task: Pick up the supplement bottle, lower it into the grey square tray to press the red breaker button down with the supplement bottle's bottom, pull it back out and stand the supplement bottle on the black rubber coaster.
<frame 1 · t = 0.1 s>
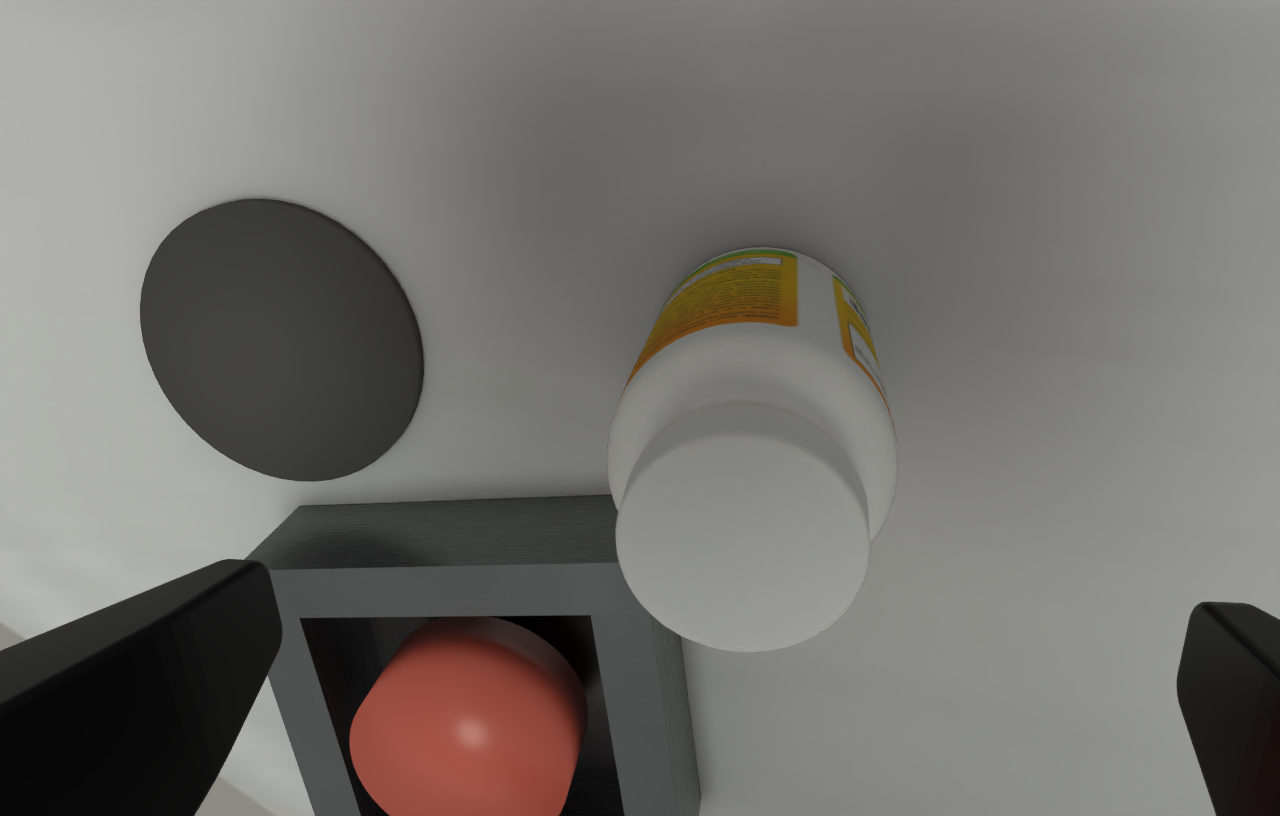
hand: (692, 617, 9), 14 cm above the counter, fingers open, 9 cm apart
coaster: (284, 345, 25), on the counter
grey square tray: (507, 657, 28), on the counter
button: (472, 732, 25), point 3 cm above the counter, slide at 0.0 cm
supplement bottle: (761, 345, 23), on the counter
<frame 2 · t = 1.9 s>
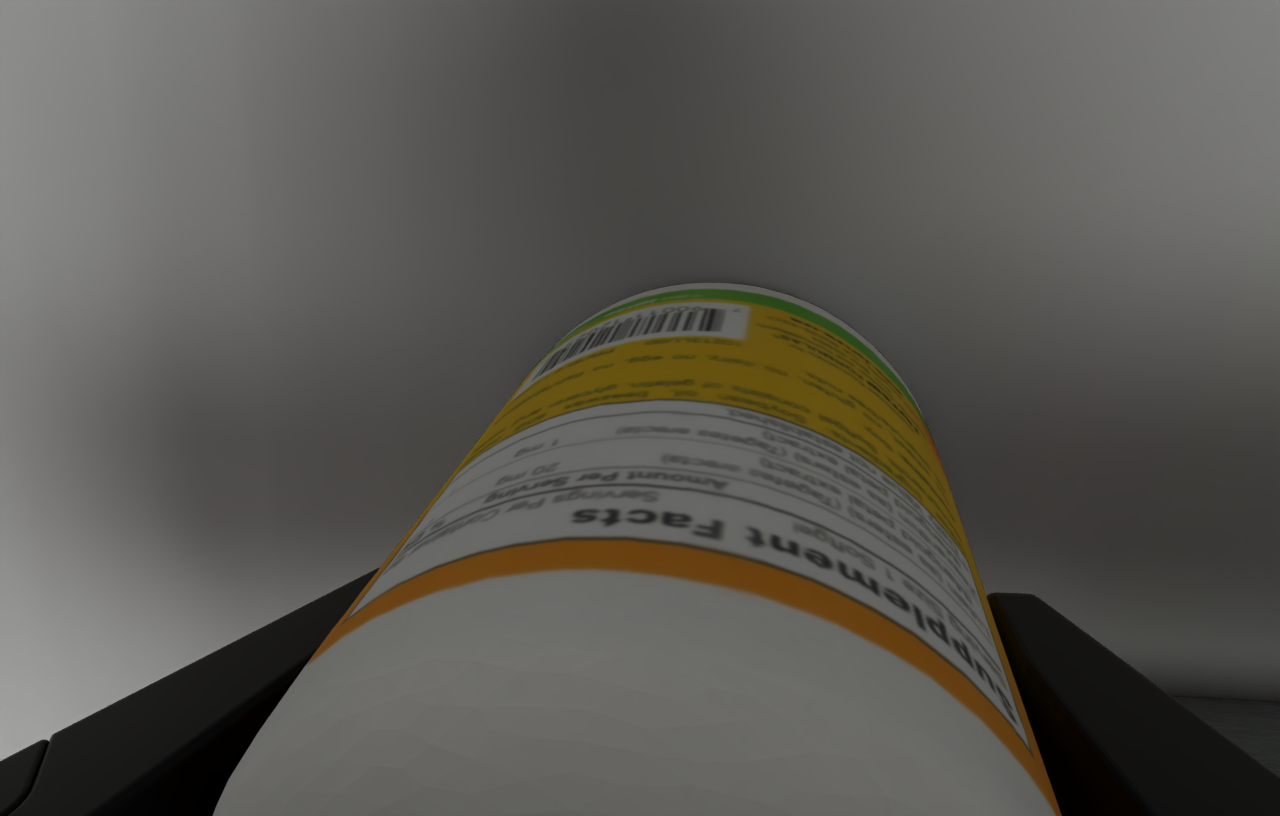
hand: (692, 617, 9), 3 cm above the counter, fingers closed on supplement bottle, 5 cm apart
supplement bottle: (717, 470, 12), on the counter, touching gripper
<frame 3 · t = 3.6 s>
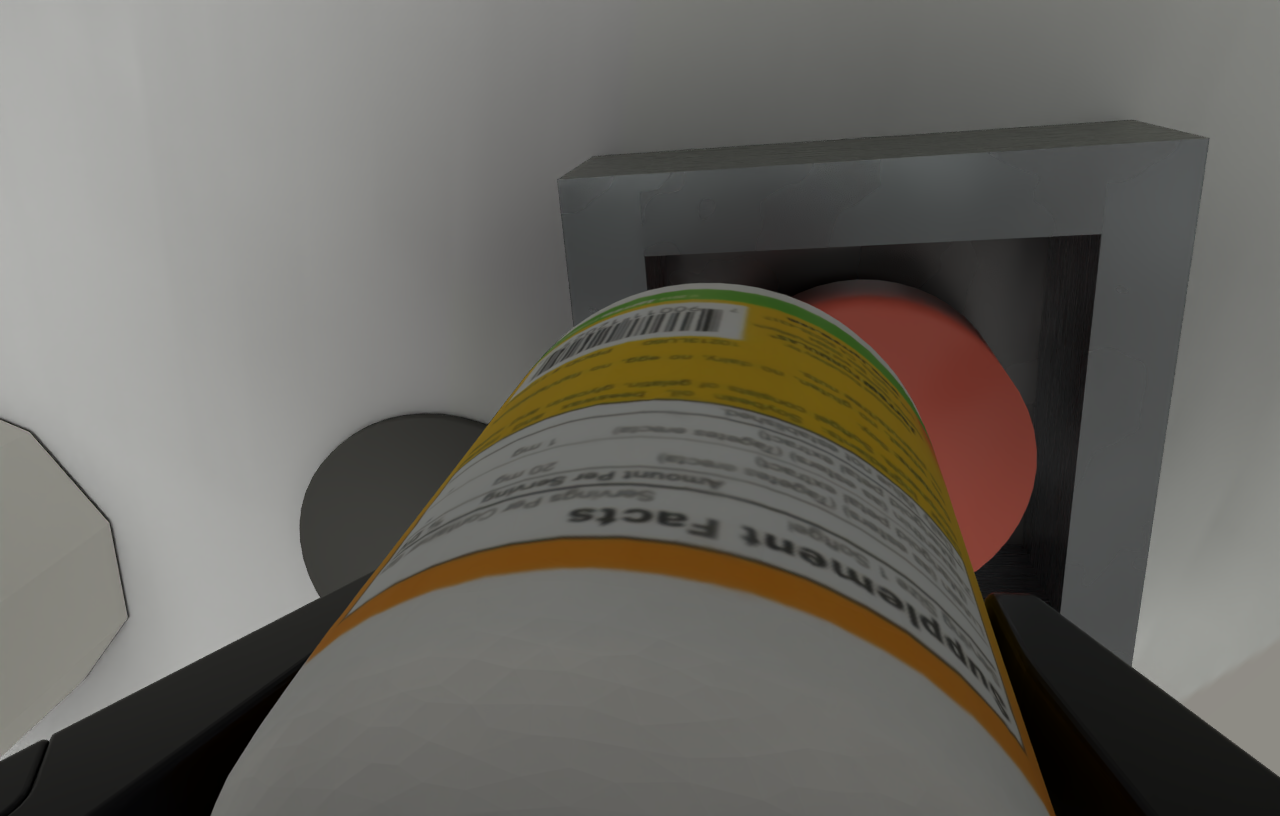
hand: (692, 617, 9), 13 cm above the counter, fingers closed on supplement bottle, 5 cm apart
coaster: (448, 551, 24), on the counter
grey square tray: (849, 384, 21), on the counter
button: (860, 442, 18), point 3 cm above the counter, slide at 0.0 cm
supplement bottle: (715, 470, 12), point 9 cm above the counter, touching gripper
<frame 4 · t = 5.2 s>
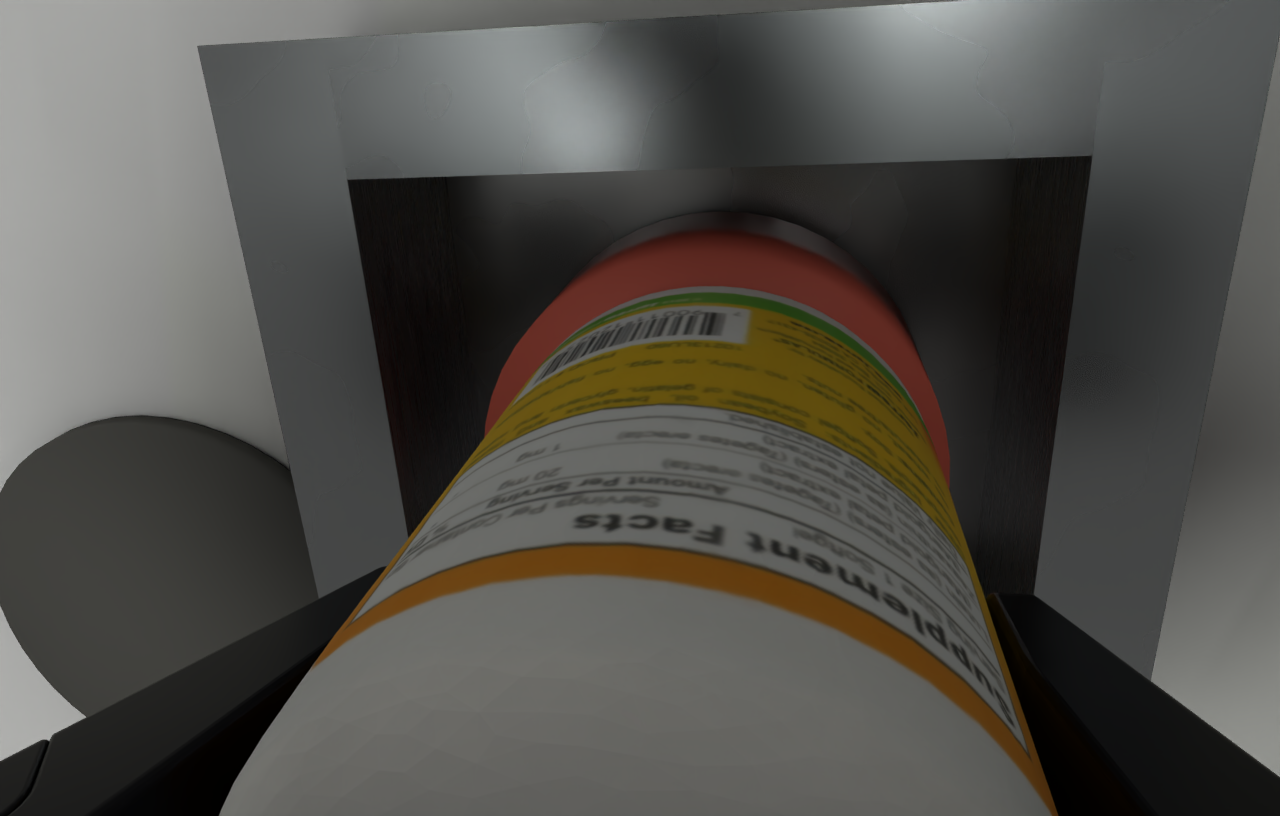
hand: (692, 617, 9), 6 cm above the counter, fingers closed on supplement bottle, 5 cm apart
coaster: (193, 602, 18), on the counter
grey square tray: (723, 394, 14), on the counter
button: (715, 440, 13), point 2 cm above the counter, slide at 1.5 cm, touching supplement bottle
supplement bottle: (718, 472, 12), point 3 cm above the counter, touching button, gripper
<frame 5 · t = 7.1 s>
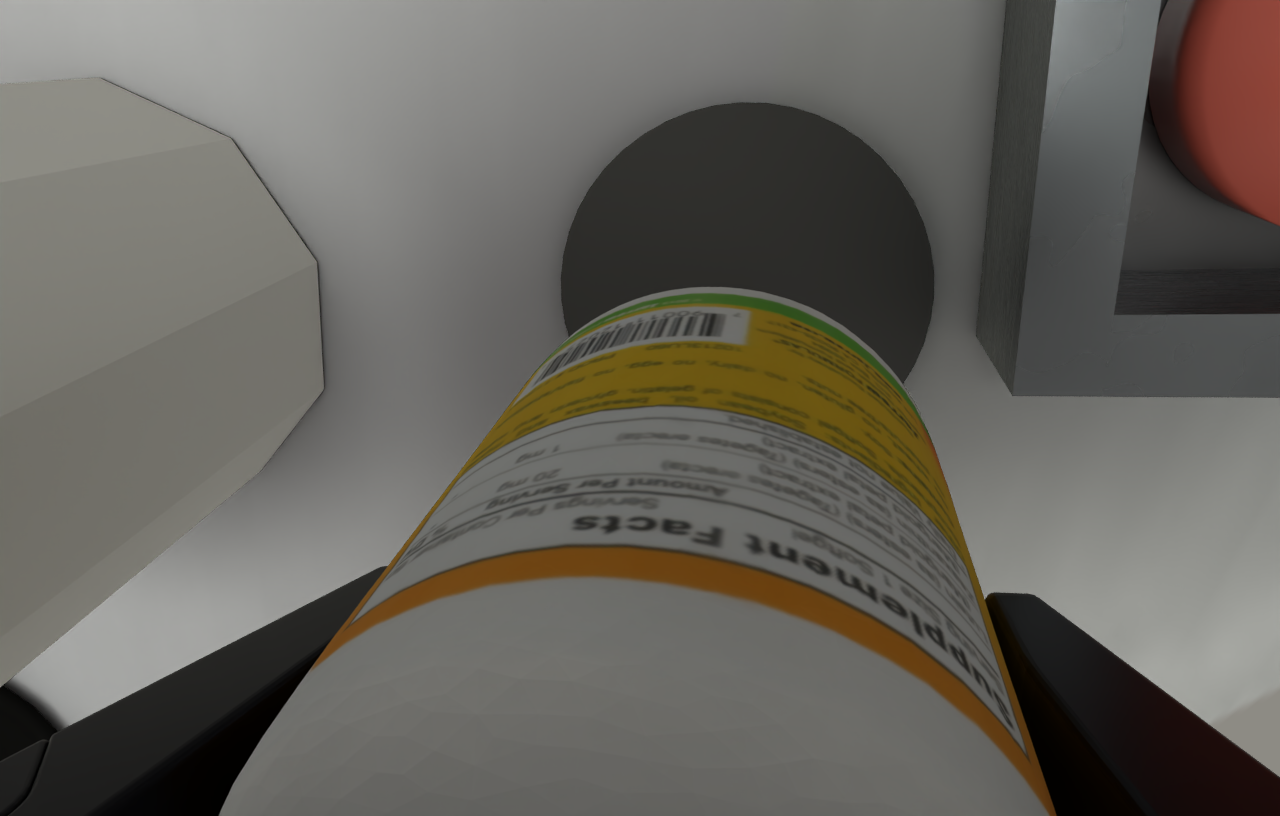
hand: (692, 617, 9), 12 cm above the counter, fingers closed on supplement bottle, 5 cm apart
coaster: (742, 293, 20), on the counter
toilet paper: (138, 297, 23), on the counter
supplement bottle: (718, 473, 12), point 9 cm above the counter, touching gripper
when the fingers open (4 cm above the counter, at t = 8.8 s): supplement bottle stays where it is, resting on coaster.
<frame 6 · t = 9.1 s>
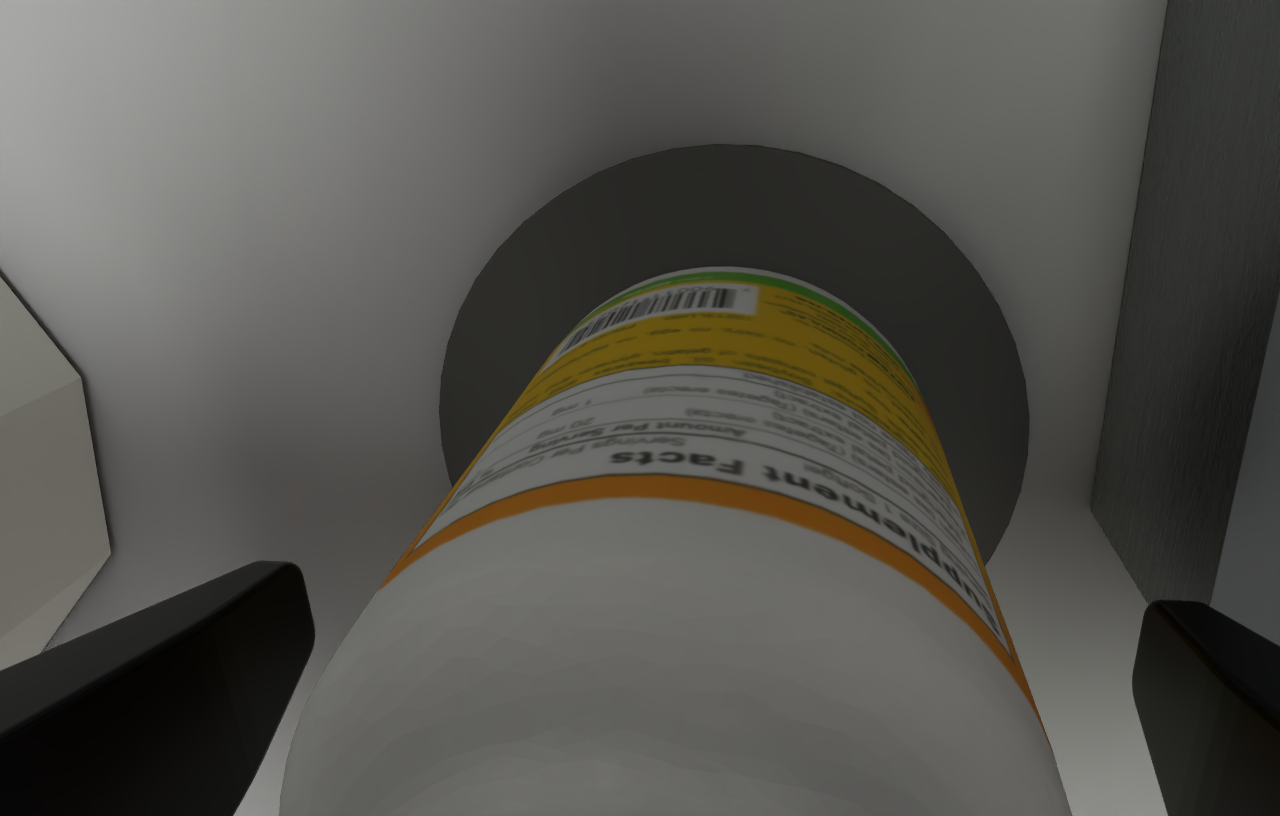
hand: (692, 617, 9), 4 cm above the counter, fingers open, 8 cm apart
coaster: (721, 437, 13), on the counter
supplement bottle: (726, 444, 13), resting on coaster
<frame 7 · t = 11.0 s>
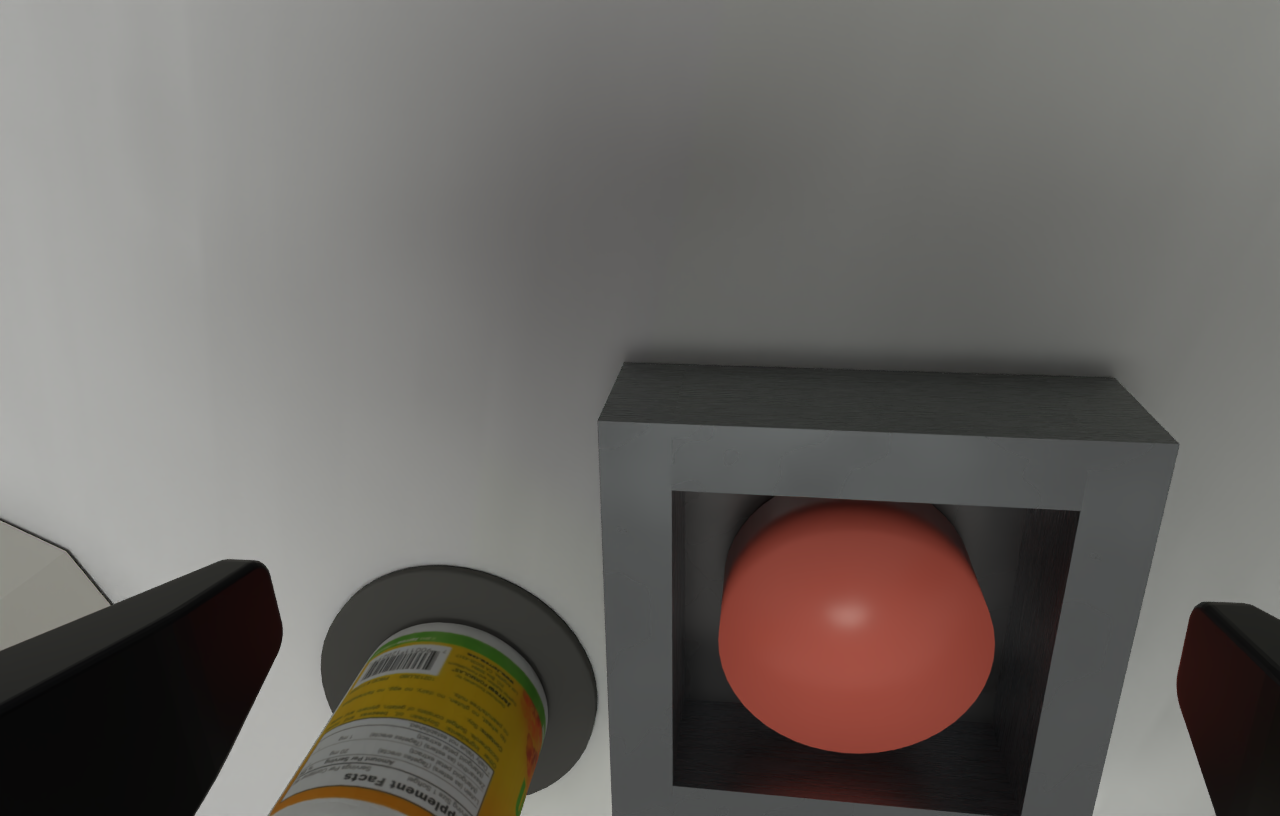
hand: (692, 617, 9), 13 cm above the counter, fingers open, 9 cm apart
coaster: (460, 685, 26), on the counter
grey square tray: (843, 574, 23), on the counter
button: (849, 615, 21), point 2 cm above the counter, slide at 1.5 cm
supplement bottle: (461, 690, 26), resting on coaster
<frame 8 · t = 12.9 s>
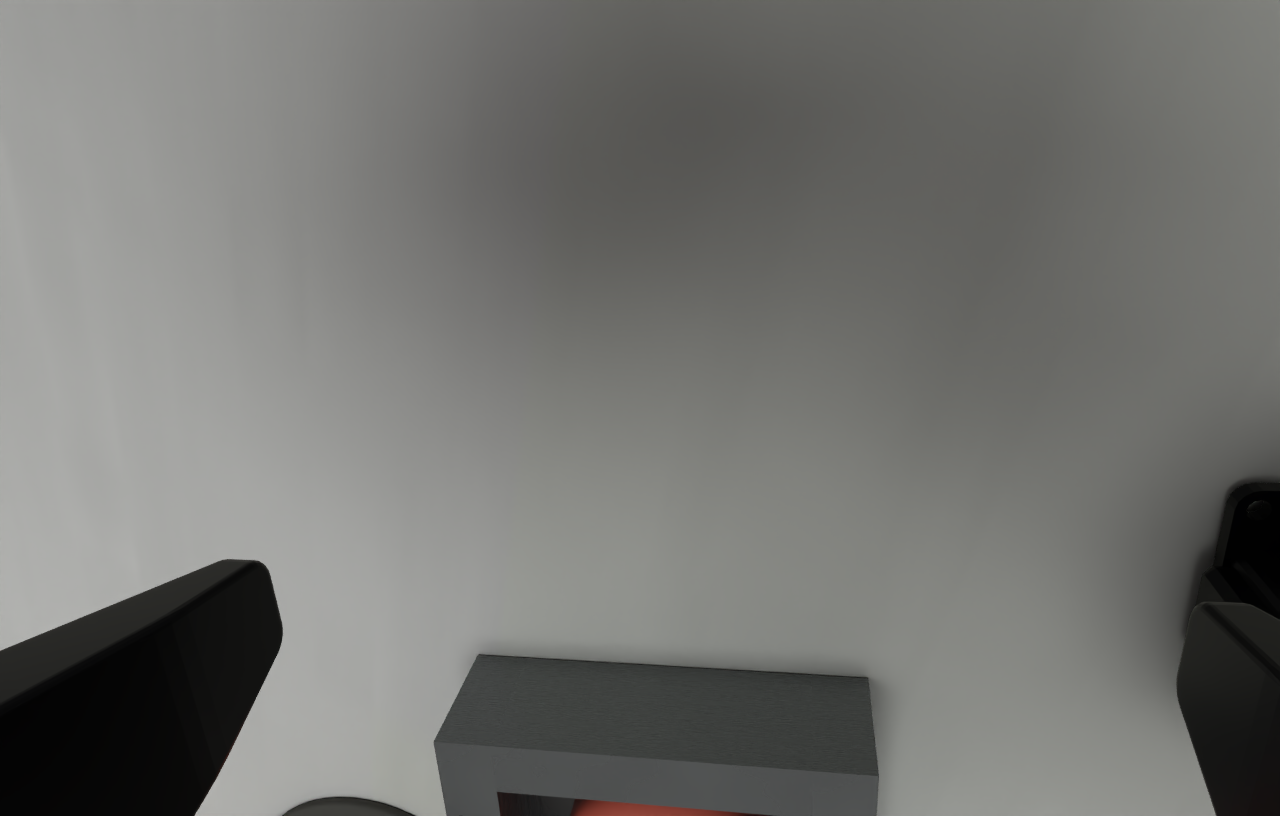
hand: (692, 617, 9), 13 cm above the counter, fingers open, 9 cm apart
grey square tray: (673, 814, 27), on the counter
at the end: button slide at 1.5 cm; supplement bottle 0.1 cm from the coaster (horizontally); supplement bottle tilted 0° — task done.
